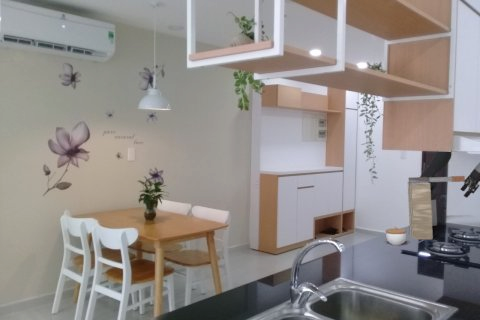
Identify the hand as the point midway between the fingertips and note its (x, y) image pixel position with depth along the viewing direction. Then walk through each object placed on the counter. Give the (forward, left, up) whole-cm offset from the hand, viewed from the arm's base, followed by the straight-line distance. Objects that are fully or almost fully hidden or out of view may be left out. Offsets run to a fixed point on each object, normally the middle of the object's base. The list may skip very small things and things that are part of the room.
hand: (463, 193), depth 246 cm
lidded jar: (+22, -41, -25) cm, 53 cm away
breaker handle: (+2, -9, +7) cm, 12 cm away
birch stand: (+2, -25, -25) cm, 35 cm away
